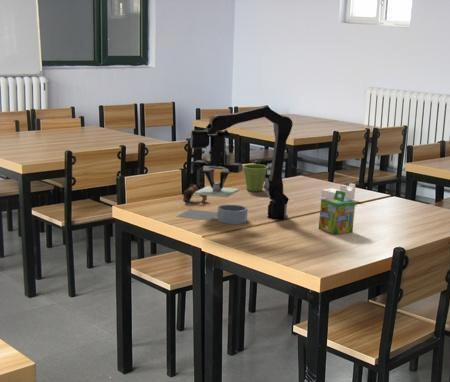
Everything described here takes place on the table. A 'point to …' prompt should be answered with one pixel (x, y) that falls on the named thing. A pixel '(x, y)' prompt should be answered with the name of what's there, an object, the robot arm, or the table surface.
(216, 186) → the lid
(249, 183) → the plant pot
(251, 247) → the table surface
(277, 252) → the table surface
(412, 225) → the table surface
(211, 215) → the mat
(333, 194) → the bracket
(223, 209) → the bowl
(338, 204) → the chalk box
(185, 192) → the brown arch
